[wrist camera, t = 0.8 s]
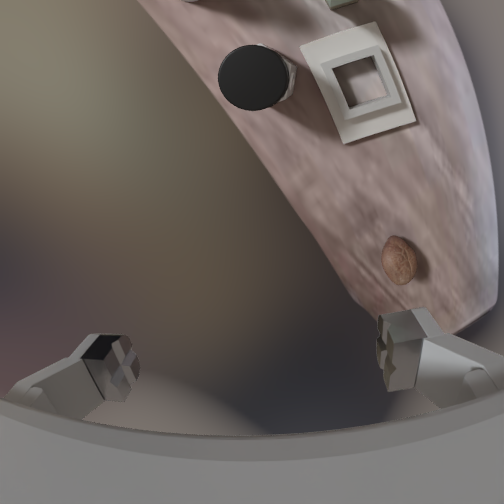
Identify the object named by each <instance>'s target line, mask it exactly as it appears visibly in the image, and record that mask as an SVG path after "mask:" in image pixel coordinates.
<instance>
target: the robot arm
mask: <svg viewBox="0 0 504 504" xmlns="http://www.w3.org/2000/svg"><path fill="white" fill-rule="evenodd" d="M377 326H378V327H377V328H378V330H379V332H380V335H379V337H378V338H377V345H376V349H377V359H378V363H379V366H380V368H381V369H383V370H384V374H383V378H384V381H385V384H386V387H387V390H388V392H391V391H397V390H403V389H408V388H414V387H415V389H416V390H417V391H418V392H420V393H421V394H422V395H424V396H425V397H426V398H428V399H429V400H430V401H431V402H433V403H434V404H435V405H437V406H438V407H439V408H441V409H440V410H436V411H433V412H428V413H424V414H420V415H416V416H412V417H407V418H403V419H398V420H393V421H388V422H383V423H378V424H372V425H366V426H360V427H353V428H346V429H338V430H330V431H320V432H310V433H298V434H281V435H251V436H225V435H195V434H179V433H166V432H157V431H148V430H139V429H132V428H125V427H118V426H112V425H106V424H100V423H95V422H90V421H84V420H82V419H83V418H84V417H85V416H87V415H88V414H89V413H90V412H92V411H93V410H94V409H96V408H97V407H98V406H99V405H101V404H102V403H103V402H104V400H108V401H118V402H125V400H126V398H127V396H128V395H129V393H130V391H131V386H130V385H131V384H132V383H134V382H135V381H136V380H137V379H138V377H139V373H140V363H139V359H138V357H137V355H136V354H135V353H134V352H132V350H131V348H132V343H131V340H130V338H129V337H128V336H127V335H125V334H90V335H88V336H87V337H86V339H85V340H84V341H83V342H82V343H81V344H80V345H79V346H78V348H77V349H76V350H75V351H74V352H73V353H72V355H71V356H70V357H69V358H64V359H62V360H60V361H58V362H56V363H54V364H52V365H50V366H48V367H46V368H44V369H42V370H40V371H38V372H36V373H35V374H33V375H30V376H29V377H26V378H24V379H23V380H20V381H19V382H17V383H16V384H15V385H14V387H13V388H12V389H11V390H10V391H9V393H7V395H6V396H5V397H4V398H0V504H504V356H502V355H499V354H497V353H495V352H492V351H490V350H487V349H485V348H483V347H480V346H478V345H476V344H473V343H471V342H468V341H466V340H464V339H461V338H459V337H457V336H454V335H452V334H450V333H446V334H444V333H443V331H442V330H441V328H440V327H439V325H438V324H437V323H436V321H435V320H434V318H433V317H432V316H431V314H430V313H429V311H428V310H427V309H426V307H419V308H414V309H409V310H405V311H400V312H394V313H389V314H383V315H379V316H378V323H377Z"/></svg>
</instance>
